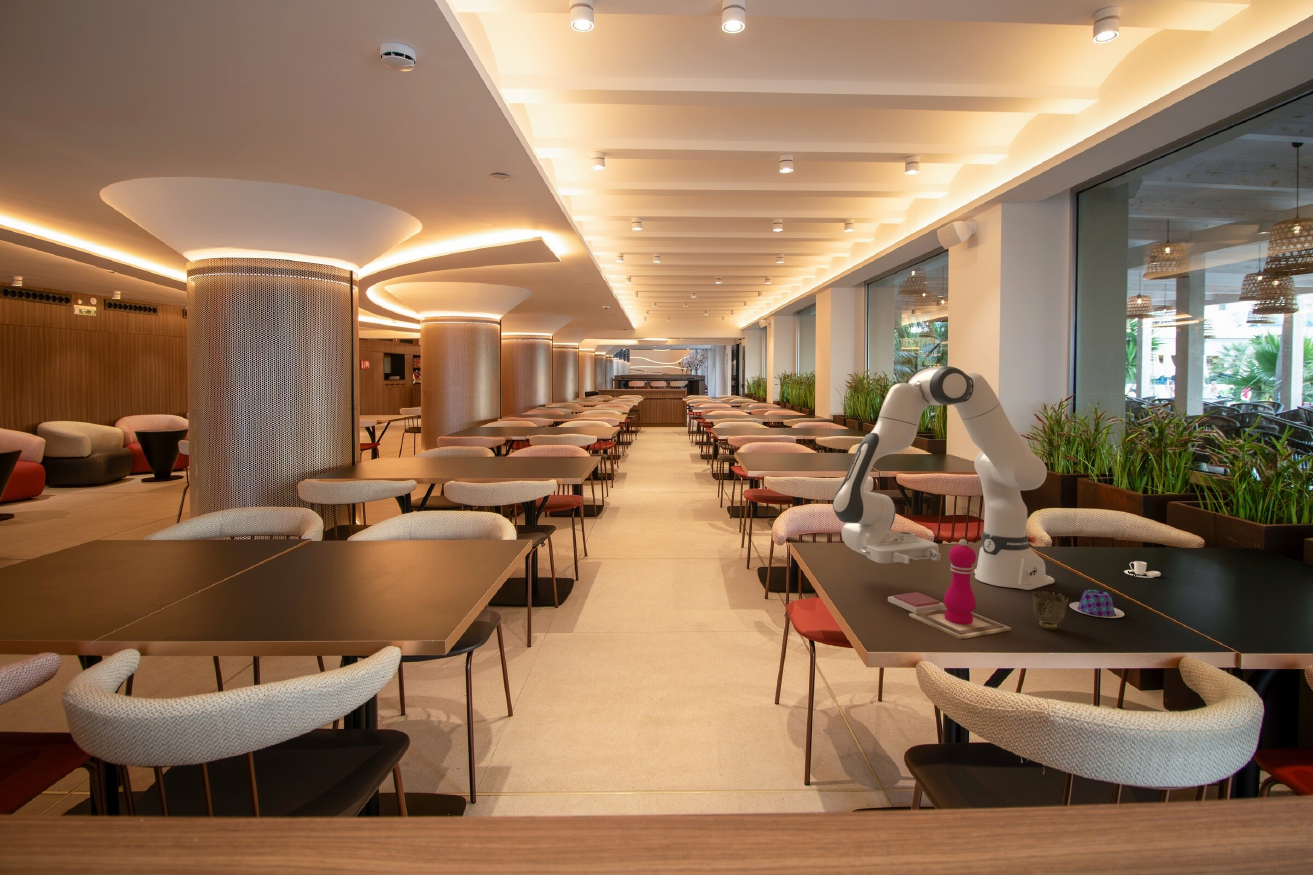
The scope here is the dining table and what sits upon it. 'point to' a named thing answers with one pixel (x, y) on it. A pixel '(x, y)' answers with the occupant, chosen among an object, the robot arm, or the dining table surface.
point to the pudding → (1097, 604)
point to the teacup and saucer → (1142, 570)
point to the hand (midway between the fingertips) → (924, 558)
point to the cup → (1049, 608)
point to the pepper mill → (960, 585)
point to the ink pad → (916, 602)
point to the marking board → (959, 630)
